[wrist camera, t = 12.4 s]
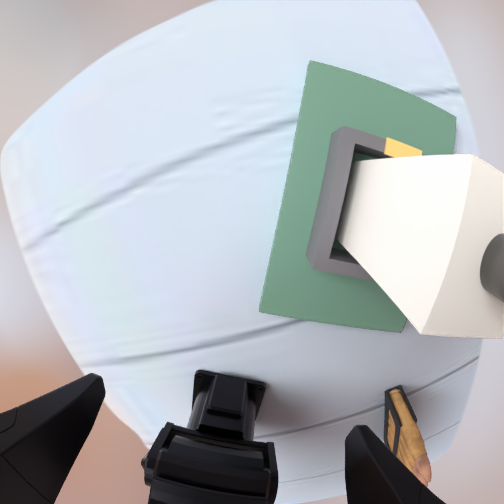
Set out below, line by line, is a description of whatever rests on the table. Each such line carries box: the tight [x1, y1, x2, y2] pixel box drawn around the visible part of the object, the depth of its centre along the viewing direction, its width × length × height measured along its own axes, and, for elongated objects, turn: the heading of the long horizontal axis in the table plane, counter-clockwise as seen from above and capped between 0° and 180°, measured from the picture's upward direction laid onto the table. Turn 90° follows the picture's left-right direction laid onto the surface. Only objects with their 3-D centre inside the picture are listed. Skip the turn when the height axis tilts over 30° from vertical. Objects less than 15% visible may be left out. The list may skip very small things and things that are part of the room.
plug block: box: [335, 154, 504, 339], centre depth 10 cm, size 5×4×14 cm
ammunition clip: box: [384, 385, 431, 487], centre depth 18 cm, size 11×2×12 cm, turn 18°
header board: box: [259, 60, 456, 333], centre depth 16 cm, size 18×12×4 cm, turn 169°
